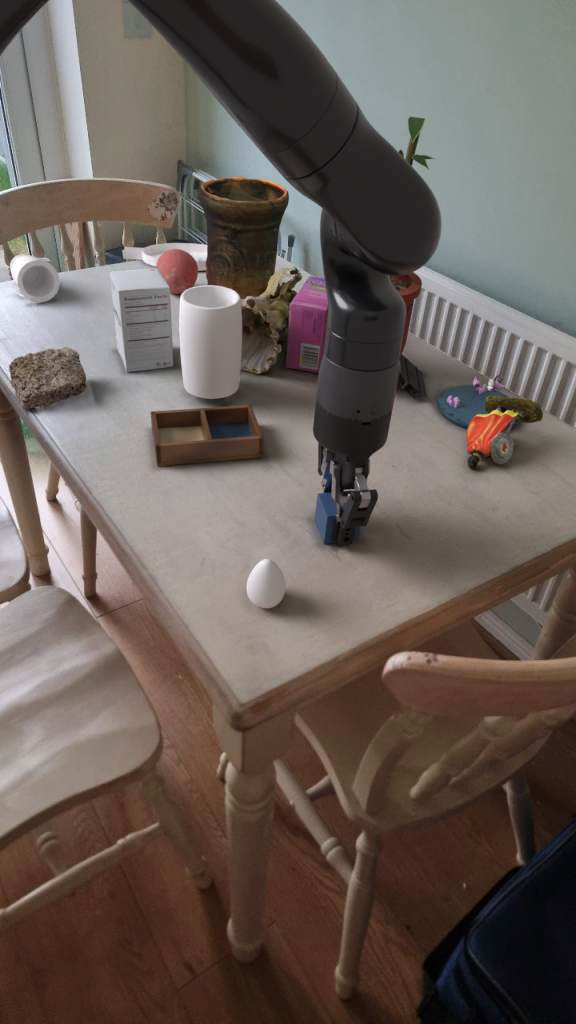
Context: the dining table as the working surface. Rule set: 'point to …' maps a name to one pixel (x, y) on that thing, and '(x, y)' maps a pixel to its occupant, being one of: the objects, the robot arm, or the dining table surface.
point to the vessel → (242, 232)
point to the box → (307, 326)
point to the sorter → (206, 435)
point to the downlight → (35, 277)
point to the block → (328, 517)
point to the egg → (266, 584)
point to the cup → (210, 340)
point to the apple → (178, 270)
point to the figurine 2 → (498, 428)
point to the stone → (47, 377)
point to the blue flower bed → (468, 401)
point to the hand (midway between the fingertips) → (336, 528)
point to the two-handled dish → (155, 251)
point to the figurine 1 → (267, 321)
